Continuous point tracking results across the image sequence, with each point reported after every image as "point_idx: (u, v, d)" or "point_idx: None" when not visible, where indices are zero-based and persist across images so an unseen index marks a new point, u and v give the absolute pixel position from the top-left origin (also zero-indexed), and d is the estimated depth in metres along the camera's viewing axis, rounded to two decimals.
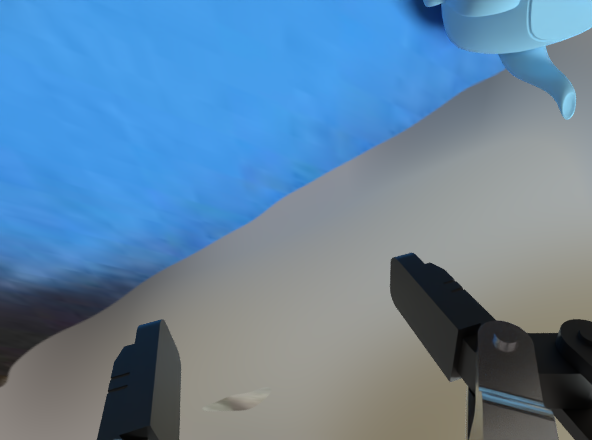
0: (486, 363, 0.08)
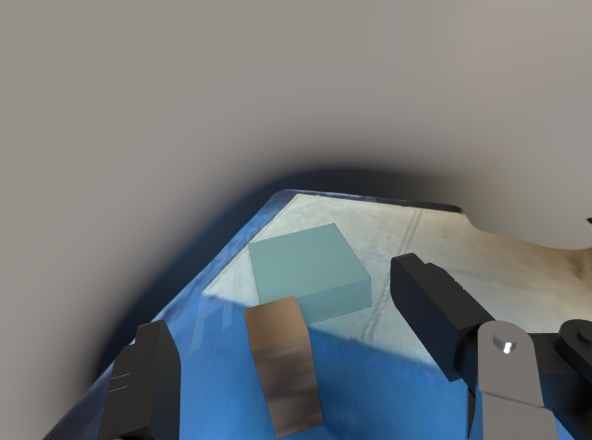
0: (486, 363, 0.08)
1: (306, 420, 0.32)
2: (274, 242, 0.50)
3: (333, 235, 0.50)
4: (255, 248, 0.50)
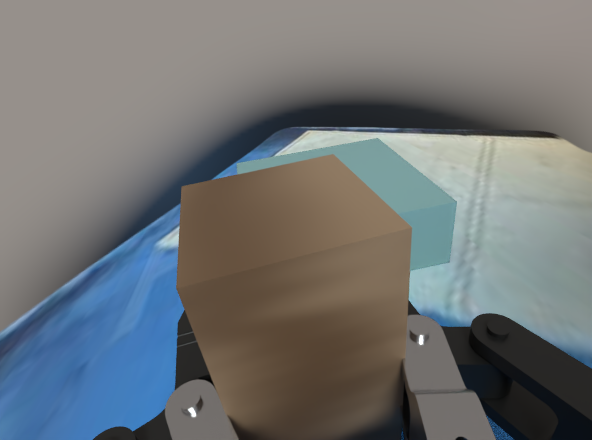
0: None
1: None
2: (279, 161, 0.31)
3: (376, 150, 0.30)
4: (247, 168, 0.30)
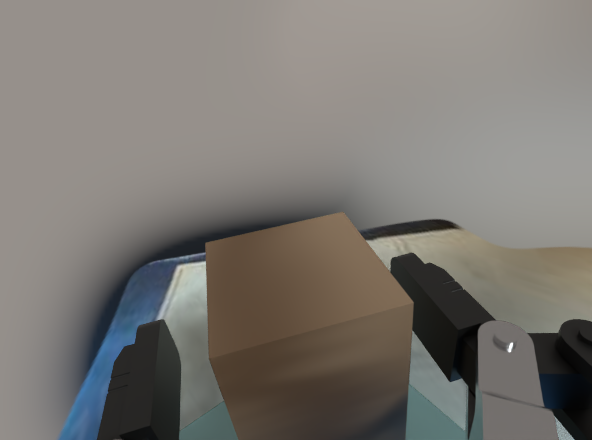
0: (486, 363, 0.08)
1: None
2: (214, 432, 0.18)
3: None
4: None
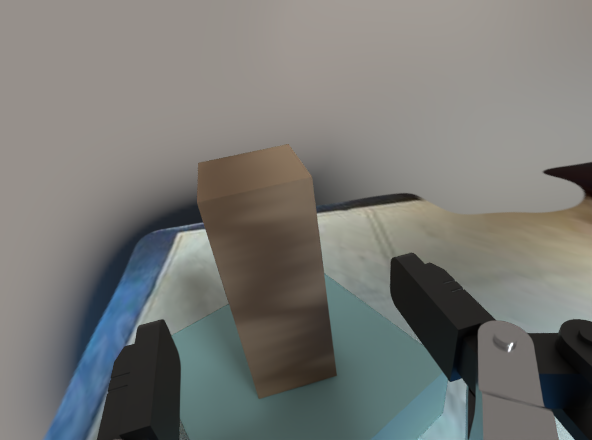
0: (486, 363, 0.08)
1: (308, 368, 0.19)
2: (207, 329, 0.24)
3: None
4: None
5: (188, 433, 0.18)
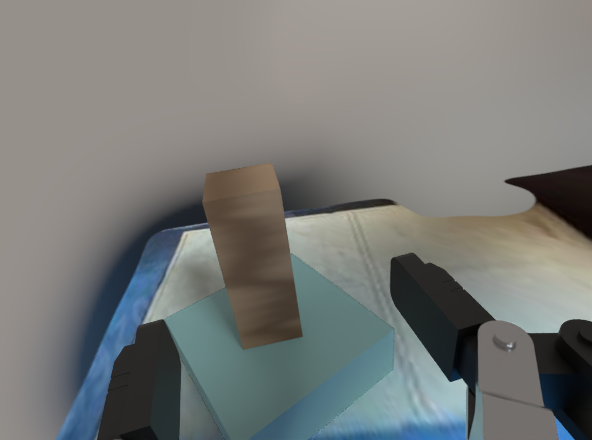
0: (486, 363, 0.08)
1: (280, 328, 0.25)
2: (210, 305, 0.30)
3: (299, 272, 0.33)
4: (181, 324, 0.29)
5: (197, 375, 0.24)
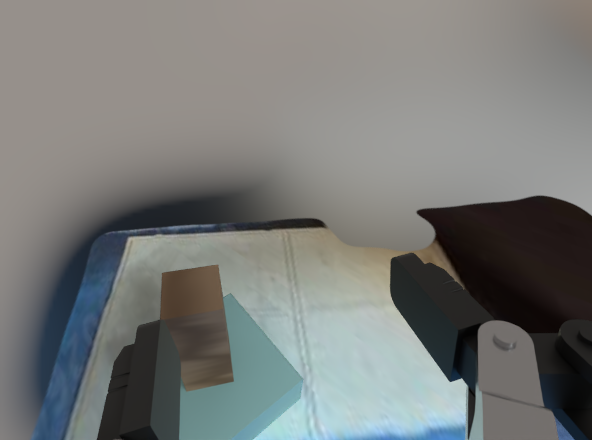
0: (486, 363, 0.08)
1: (217, 378, 0.33)
2: None
3: (235, 315, 0.40)
4: None
5: None
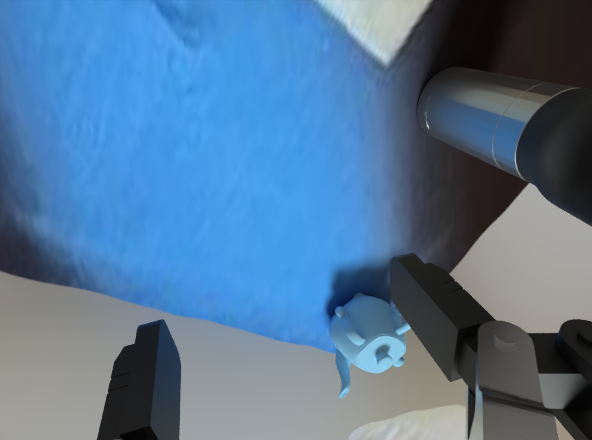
0: (486, 363, 0.08)
1: None
2: None
3: None
4: None
5: None
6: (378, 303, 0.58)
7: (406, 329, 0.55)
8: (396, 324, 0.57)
